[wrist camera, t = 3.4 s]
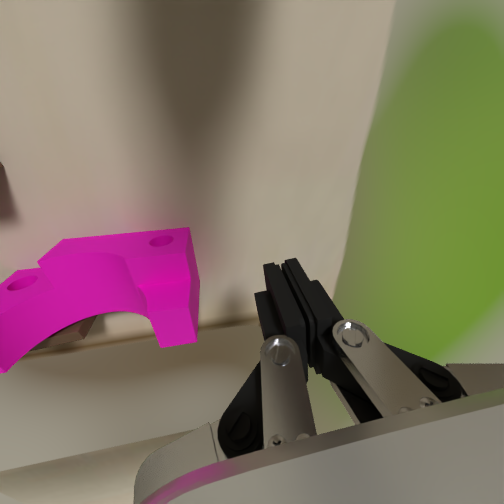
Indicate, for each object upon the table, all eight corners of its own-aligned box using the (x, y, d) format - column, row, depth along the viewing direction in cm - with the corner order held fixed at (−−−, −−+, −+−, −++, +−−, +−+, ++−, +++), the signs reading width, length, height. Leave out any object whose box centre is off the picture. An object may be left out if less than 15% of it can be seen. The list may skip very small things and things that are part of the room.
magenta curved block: (189, 226, 20) (181, 277, 14) (199, 280, 23) (197, 342, 17) (1, 244, 18) (-109, 313, 12) (41, 300, 21) (-28, 377, 15)
